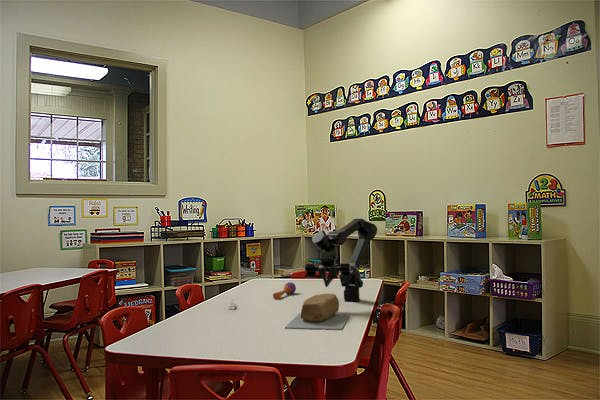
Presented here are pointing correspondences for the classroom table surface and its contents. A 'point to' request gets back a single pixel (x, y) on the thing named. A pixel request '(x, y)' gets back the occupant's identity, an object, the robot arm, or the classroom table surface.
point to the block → (319, 307)
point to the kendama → (285, 290)
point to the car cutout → (232, 305)
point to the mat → (319, 323)
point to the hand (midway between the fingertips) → (326, 286)
